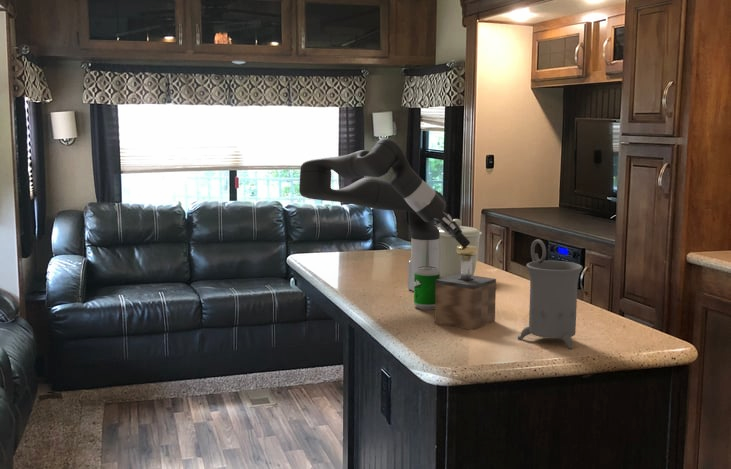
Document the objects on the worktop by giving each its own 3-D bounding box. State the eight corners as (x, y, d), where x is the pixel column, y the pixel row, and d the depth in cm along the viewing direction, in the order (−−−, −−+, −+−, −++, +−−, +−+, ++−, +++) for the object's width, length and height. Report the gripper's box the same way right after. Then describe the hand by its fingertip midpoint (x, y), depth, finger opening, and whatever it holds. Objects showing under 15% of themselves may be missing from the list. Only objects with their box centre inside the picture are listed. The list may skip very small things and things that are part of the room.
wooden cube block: (434, 322, 216) (435, 279, 214) (457, 314, 225) (458, 273, 224) (472, 330, 209) (474, 285, 207) (494, 321, 218) (496, 278, 216)
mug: (596, 346, 194) (601, 246, 190) (546, 352, 188) (550, 250, 185) (552, 328, 211) (556, 236, 207) (504, 333, 206) (507, 239, 202)
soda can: (441, 305, 236) (442, 266, 235) (435, 311, 229) (436, 270, 228) (417, 303, 239) (418, 264, 237) (410, 309, 232) (411, 269, 230)
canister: (422, 280, 274) (423, 220, 271) (437, 271, 290) (438, 215, 287) (473, 284, 267) (475, 223, 264) (485, 275, 284) (487, 217, 281)
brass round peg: (451, 290, 215) (452, 247, 213) (462, 287, 219) (463, 244, 218) (469, 293, 212) (470, 249, 210) (479, 289, 216) (481, 246, 214)
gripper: (408, 208, 216) (450, 251, 220) (420, 213, 203) (465, 259, 207) (427, 188, 216) (468, 231, 220) (441, 192, 203) (484, 238, 208)
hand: (466, 244), depth 214 cm, fingers closed
